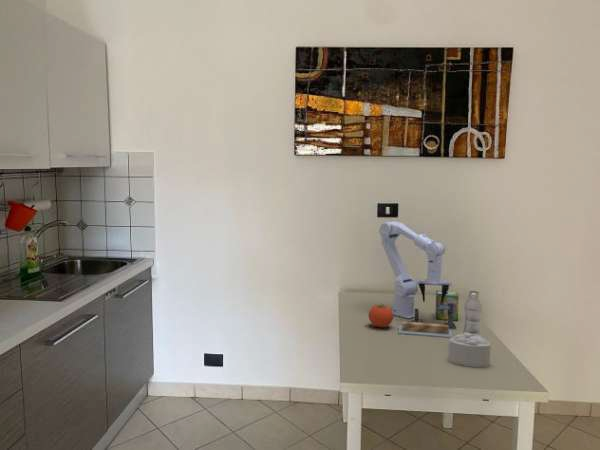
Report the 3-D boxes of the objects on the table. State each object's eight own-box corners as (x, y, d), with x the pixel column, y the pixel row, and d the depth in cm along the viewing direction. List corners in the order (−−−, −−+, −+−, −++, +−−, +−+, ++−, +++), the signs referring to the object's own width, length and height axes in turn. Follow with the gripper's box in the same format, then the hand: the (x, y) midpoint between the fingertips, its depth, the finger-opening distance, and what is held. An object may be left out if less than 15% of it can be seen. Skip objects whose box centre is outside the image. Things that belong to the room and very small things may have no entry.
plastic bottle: (479, 341, 185) (482, 291, 183) (480, 347, 178) (483, 294, 176) (462, 339, 187) (464, 289, 185) (462, 345, 180) (464, 293, 178)
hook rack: (411, 325, 203) (412, 312, 203) (411, 321, 210) (411, 308, 209) (455, 329, 200) (456, 315, 199) (454, 324, 206) (454, 311, 205)
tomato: (397, 327, 201) (398, 303, 200) (383, 332, 194) (384, 308, 193) (377, 321, 208) (377, 299, 207) (363, 326, 201) (364, 303, 200)
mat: (398, 333, 192) (398, 332, 192) (398, 327, 201) (398, 325, 201) (452, 338, 188) (452, 336, 188) (450, 331, 197) (450, 329, 197)
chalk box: (457, 321, 211) (459, 288, 210) (436, 319, 213) (437, 287, 211) (455, 315, 220) (457, 284, 219) (434, 314, 222) (436, 282, 220)
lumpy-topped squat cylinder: (491, 367, 160) (493, 342, 159) (452, 365, 160) (453, 340, 160) (481, 355, 170) (483, 332, 169) (444, 354, 171) (445, 330, 170)
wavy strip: (402, 330, 195) (402, 323, 195) (402, 328, 198) (402, 321, 198) (448, 334, 191) (448, 327, 191) (447, 331, 194) (448, 324, 194)
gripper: (417, 271, 203) (416, 302, 205) (452, 273, 201) (451, 305, 202) (416, 268, 210) (415, 298, 212) (451, 270, 207) (449, 301, 209)
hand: (432, 301), depth 207 cm, fingers open, 7 cm apart
